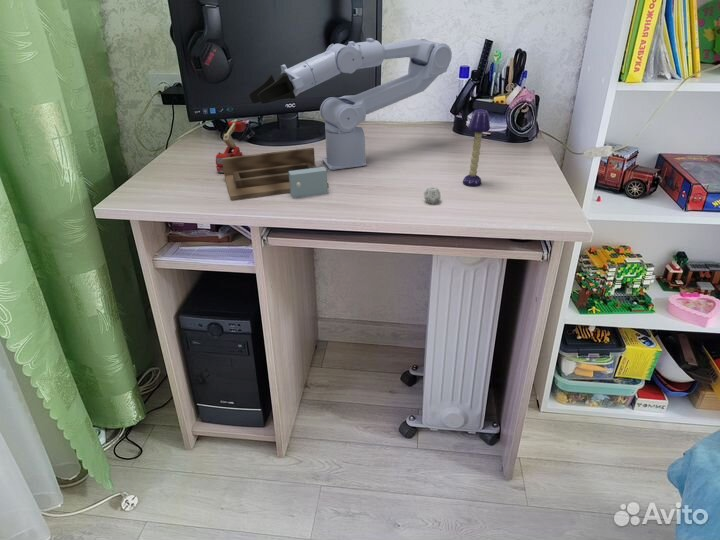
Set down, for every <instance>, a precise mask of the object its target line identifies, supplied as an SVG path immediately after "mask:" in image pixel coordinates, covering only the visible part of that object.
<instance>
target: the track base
mask: <svg viewBox="0 0 720 540" xmlns="http://www.w3.org/2000/svg"><path fill="white" fill-rule="evenodd" d="M315 159H316V158H315V148H314V147H305V148H300V149H299V148H297V149H290V150H289V149H288V150H281V151H271V152H265V153H254V154H246V155H243V156H236V157H227V158H222V163H223V169H224V173H223V174H224V179H225V184H226V187H227V190H228V191H227V192H228V195H229V199H230V201H231V200H232V201H238V199H240V200H246V198H247V199H253V198H259V197H261V198H262V197H269V196H274V195H275V196H276V195H282V194H290V183H289V171H294V170H302V169H310V168H318V167H317V165H316V160H315ZM327 184H328V189H329V187H330V186H329V182H328V181H327Z"/></svg>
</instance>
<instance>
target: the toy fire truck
mask: <svg viewBox="0 0 720 540" xmlns="http://www.w3.org/2000/svg"><path fill="white" fill-rule="evenodd" d="M227 123H228V128H229V129H228V130H227V132H226V133H224V134H223V139H222V141H223V142H224V143H225V144H226V146H227V147H226V149H225V150H224V152H223V153H222V152H218V153H217V154H216V155H215V165H216V172H218V173H221V174H222V173H223V174H224V169H223V163H222V158H227V157H236V156H244V155H243V152H242V151H240V150H241V149H240V146H237V145H236V143H235V141H234V139H233V137H232V134H233V133H236V132H237V133H242V132H244V131H245V130H246V128H247V127H246V122H245V121H228V122H227Z"/></svg>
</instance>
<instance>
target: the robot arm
mask: <svg viewBox="0 0 720 540" xmlns="http://www.w3.org/2000/svg"><path fill="white" fill-rule="evenodd" d="M347 43H348V44H346V45H345V44H342V43H335V44H334V43H331V44H330V45H328V47H327V48H326V50H325V51H323V52H322V53H319V54H316V55H315V56H313V57H310V58H308V59H306V60H304V61H301V62H299V63H297V64H295V65H293V66H291V67H289V68H288V67H287V66H286V64H282V65H280V69H281V73H280V75H279V76H278V78H277V79H276V80H275V78H274V76H273V74H270V75H268V76H267V77H266V79H265V80H264V82H263V83H262V84H260V85H259V86H258V87H256V88H255V89H254V90H252V91H251V92H249V94H248V96H249V99H250V101H251V103H252V104H257V103H261V105H262V104H264V105H265V104H267V103H273V102H276V101H281V100H285V99H286V100H287V99H290V100H292V99H293V100H296V96H298V95H299V94H300V93H303V92H305V91H307V90H309V89H311V88H313V87H316V86H317V85H319V84H322V83H323V82H326V81H328V80H330V79H332V78H334V77H336V76H337V75H340V74H341V73H344V74H353V73H355V72H356V70H360V69H367V68H374V67H379V66H381V64H382V63H383V62H384V60H392V59H402V58H408V59H409V63H408V70H407V73H406V74H405V75H403V76H399V77H398V78H394V79H393V80H390V81H387V82H385V83H382V84H380V85H377V86H374V87H373V88H370V89H368V90H366V91H362V92H360V93H357V94H353V95H343V96H340V97H335V96H331V97H327V98H326V99H324V100H323V101H322V103H321V105H320V108H319V115H320V117H321V119H322V121H324V122H325V123H324V125H325V126H324V129H325V131H324V132H325V133H324V134H325V148H326V150H325V151H326V154H325V155H326V157H324V158H322V162H323V163H324V164H325V166H326V167H327V168H328V170H329V171H335V170H342V169H351V168H357V167H365V166H367V163H366V136H365V131H364V129H363V128H362V126H358V125H359V124H361V123H362V122H365V121H366V117H367V115H369V114H372V113H374V112H377V111H379V110H381V109H384V108H386V107H389V106H391V105H393V104H395V103H399V102H400V101H403V100H405V99H408V98H410V97H413V96H415V95H417V94H420V93H422V92H424V91H425V90H427V88H429V87H430V85H431V84H432V83H433V82H434V81H436V79H437V78H438V77H439V76H440V75H443V74H444V73H446V72H447V71H448V68H449V66H450V63H451V61H452V57H453V56H452V54H453V53H452V49H451V47H450V45H448V44H447V43H444V42H443V43H442V42H435V41H431V40H428V39H426V38H420V39H416V38H413V39H408V40H407V39H406V40H401V41H396V42H392V43H391V42H390V43H386V44H381V42H380V41H378V40H375V39H374V38H371V37H368V38H366V41H361V42H355V41H353V40H352V41H348V42H347Z"/></svg>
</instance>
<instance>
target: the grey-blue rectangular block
mask: <svg viewBox="0 0 720 540" xmlns="http://www.w3.org/2000/svg"><path fill="white" fill-rule="evenodd" d="M327 170H328V169H326V167H325V166H319V167H317V168H310V169H302V170H294V171H289V183H290V193H289V194H290V197H291V198H292V199H299V198H306V197H312V196H313V197H314V196H318V195H327V194H329V188H328V186H329V183H328V184H327V182H328V172H327Z"/></svg>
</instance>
